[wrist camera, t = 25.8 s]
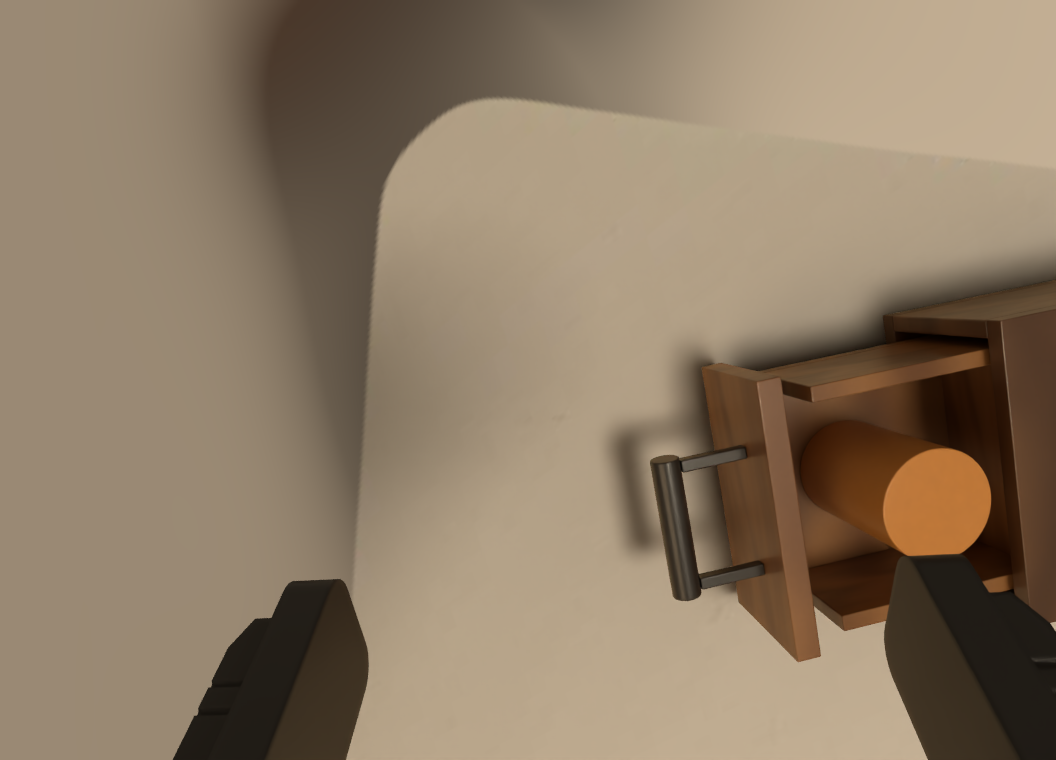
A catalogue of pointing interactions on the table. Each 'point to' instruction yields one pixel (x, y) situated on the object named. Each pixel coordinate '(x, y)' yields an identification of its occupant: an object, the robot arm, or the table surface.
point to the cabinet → (1013, 415)
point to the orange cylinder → (897, 487)
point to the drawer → (783, 505)
